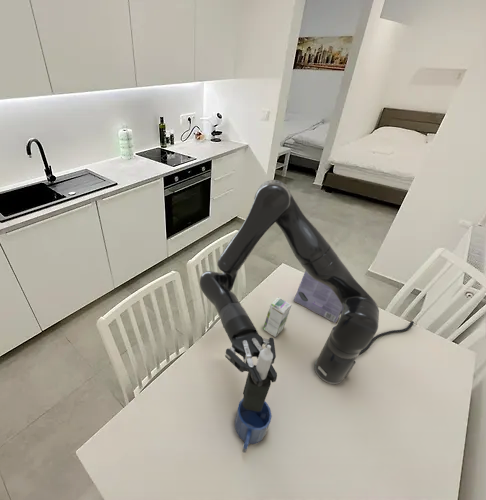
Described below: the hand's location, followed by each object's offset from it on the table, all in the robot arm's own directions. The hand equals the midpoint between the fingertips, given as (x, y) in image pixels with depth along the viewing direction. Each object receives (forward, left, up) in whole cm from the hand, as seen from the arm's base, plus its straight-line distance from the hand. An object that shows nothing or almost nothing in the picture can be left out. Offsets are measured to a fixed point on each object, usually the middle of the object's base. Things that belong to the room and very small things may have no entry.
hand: (267, 382), depth 65 cm
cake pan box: (-41, -43, -29) cm, 66 cm away
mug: (0, 0, -29) cm, 29 cm away
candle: (+1, -3, -15) cm, 15 cm away
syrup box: (-19, -35, -29) cm, 49 cm away
